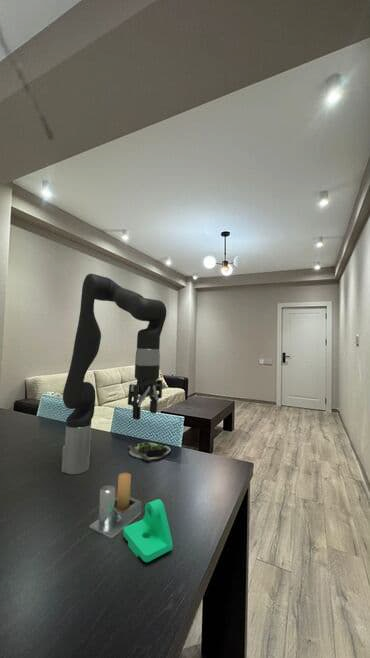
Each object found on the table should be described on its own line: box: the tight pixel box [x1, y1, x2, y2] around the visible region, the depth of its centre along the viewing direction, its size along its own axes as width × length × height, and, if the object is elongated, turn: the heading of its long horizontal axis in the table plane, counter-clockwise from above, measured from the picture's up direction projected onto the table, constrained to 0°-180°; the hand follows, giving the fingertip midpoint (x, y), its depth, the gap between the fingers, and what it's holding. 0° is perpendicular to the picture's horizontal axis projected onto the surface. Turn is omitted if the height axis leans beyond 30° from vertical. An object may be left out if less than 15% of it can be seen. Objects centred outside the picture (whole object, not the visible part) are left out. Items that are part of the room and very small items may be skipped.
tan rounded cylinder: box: [116, 472, 132, 511], centre depth 84 cm, size 4×4×11 cm
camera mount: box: [122, 498, 174, 563], centre depth 73 cm, size 12×8×10 cm, turn 39°
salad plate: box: [127, 442, 172, 462], centre depth 130 cm, size 19×18×5 cm
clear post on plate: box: [89, 484, 142, 539], centre depth 82 cm, size 12×8×11 cm, turn 151°
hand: (145, 415), depth 89 cm, fingers open, 8 cm apart
